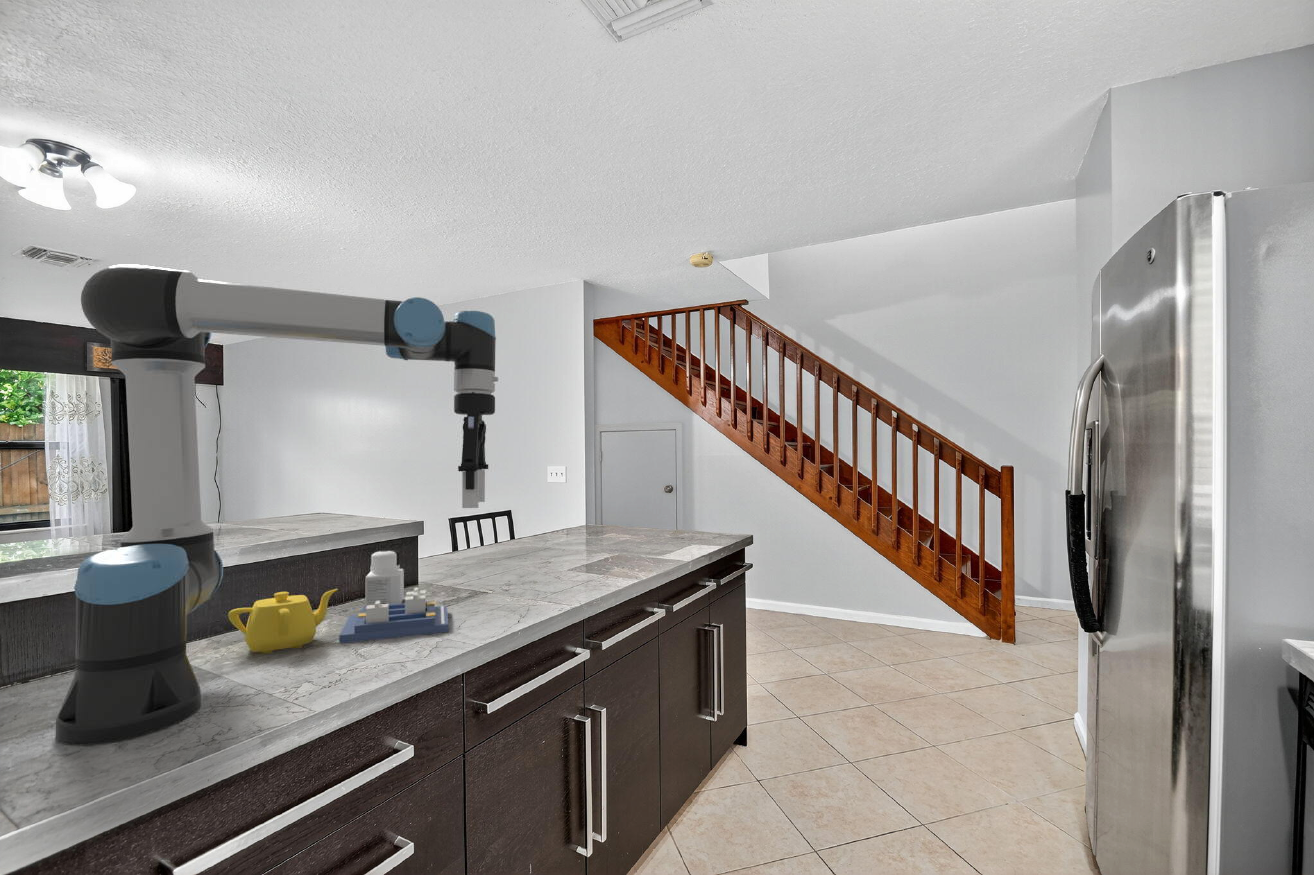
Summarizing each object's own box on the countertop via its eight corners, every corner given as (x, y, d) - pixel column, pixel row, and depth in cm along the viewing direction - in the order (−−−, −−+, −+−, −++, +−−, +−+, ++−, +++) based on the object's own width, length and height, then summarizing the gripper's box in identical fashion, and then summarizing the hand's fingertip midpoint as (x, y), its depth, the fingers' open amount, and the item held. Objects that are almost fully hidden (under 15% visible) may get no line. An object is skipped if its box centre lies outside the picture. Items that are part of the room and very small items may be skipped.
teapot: (284, 633, 123) (284, 583, 123) (338, 636, 120) (338, 585, 121) (223, 655, 110) (223, 599, 110) (283, 660, 107) (283, 602, 107)
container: (370, 601, 149) (370, 549, 149) (403, 599, 151) (403, 547, 151) (365, 609, 141) (365, 554, 142) (400, 606, 144) (400, 552, 144)
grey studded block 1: (365, 629, 119) (365, 604, 119) (367, 625, 122) (367, 601, 122) (387, 626, 121) (387, 602, 121) (388, 623, 123) (388, 599, 123)
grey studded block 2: (406, 613, 131) (406, 591, 131) (406, 609, 134) (406, 588, 134) (425, 611, 132) (425, 589, 132) (425, 608, 135) (425, 586, 135)
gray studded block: (404, 618, 126) (405, 596, 126) (405, 615, 129) (405, 593, 129) (425, 616, 128) (425, 594, 128) (425, 613, 130) (425, 591, 130)
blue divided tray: (339, 643, 116) (339, 626, 116) (350, 621, 131) (350, 607, 131) (448, 631, 123) (448, 616, 123) (446, 612, 138) (446, 598, 138)
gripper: (490, 386, 103) (489, 510, 102) (499, 399, 127) (498, 499, 127) (444, 386, 101) (443, 511, 101) (462, 399, 126) (461, 500, 125)
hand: (474, 505), depth 114 cm, fingers open, 13 cm apart
